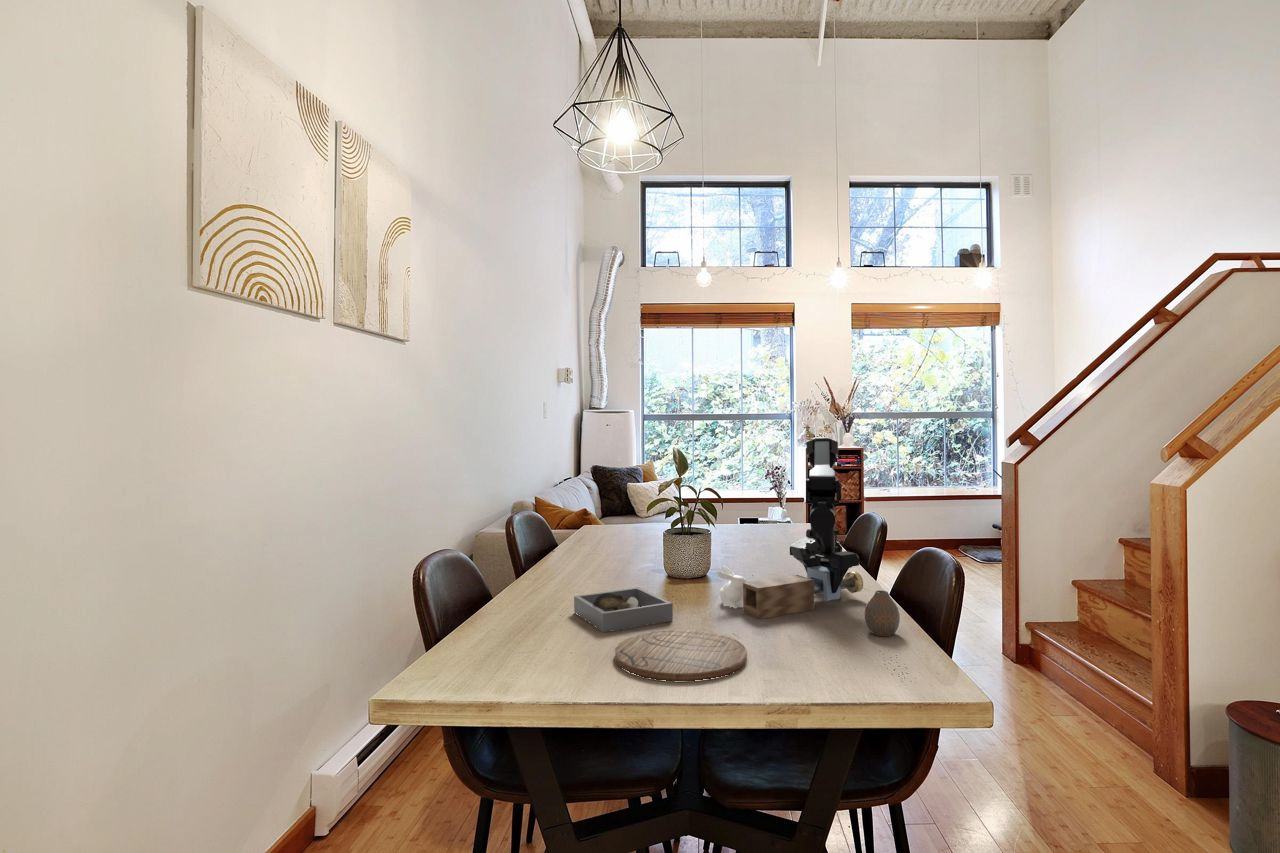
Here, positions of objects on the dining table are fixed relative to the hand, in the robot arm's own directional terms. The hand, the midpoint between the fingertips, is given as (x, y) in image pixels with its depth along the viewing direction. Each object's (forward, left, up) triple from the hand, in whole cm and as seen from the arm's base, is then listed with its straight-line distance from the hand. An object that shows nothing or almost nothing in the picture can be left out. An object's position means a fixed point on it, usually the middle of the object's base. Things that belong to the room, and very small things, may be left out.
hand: (823, 589), depth 169 cm
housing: (0, -14, -3) cm, 14 cm away
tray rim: (-14, -48, -3) cm, 50 cm away
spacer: (0, 0, -2) cm, 2 cm away
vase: (+24, -6, -4) cm, 25 cm away
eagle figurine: (-12, -50, -4) cm, 52 cm away
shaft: (0, 0, -2) cm, 2 cm away
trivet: (+16, -50, -4) cm, 52 cm away
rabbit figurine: (-10, -21, -4) cm, 23 cm away
